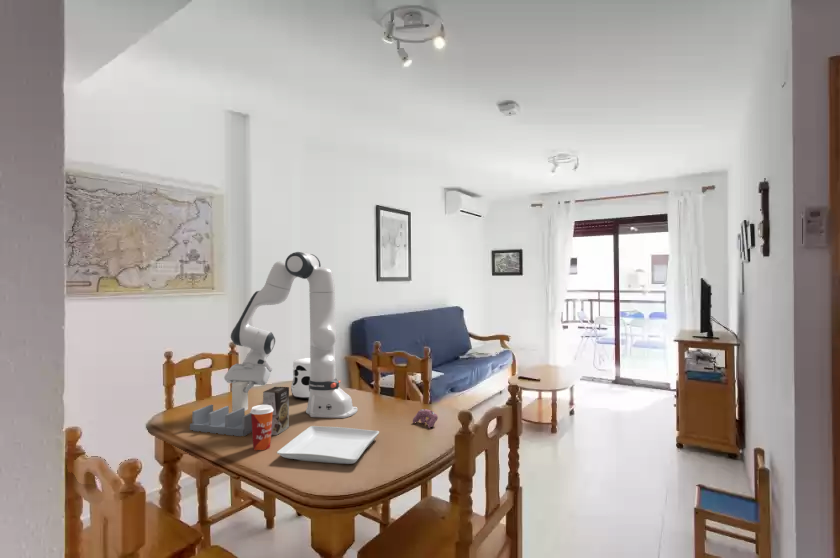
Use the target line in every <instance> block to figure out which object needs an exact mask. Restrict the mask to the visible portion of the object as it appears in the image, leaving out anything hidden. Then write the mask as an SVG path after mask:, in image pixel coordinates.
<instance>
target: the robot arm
mask: <svg viewBox="0 0 840 558" xmlns="http://www.w3.org/2000/svg"><path fill="white" fill-rule="evenodd" d="M321 265H322V264H321V261H320V259H319V258H318V257H317V256H316V255H315V254H312V253H309V252H307V251H306V252H305V251H296V252H292V253H290V254H289V255H288V256H287V257H286V259H285V260H284V261H282V260H280V261H276V262H275V263H273V265H272V267H271V269H270V271H269V273H268V275H267V278H266V281H265V283H264V285H263V287H262V288H261V289H260V290H256V291H255V292H254V293H253V294H252V296H251V298H250V299H249V301H248V302H247V304H246V306H245V308H244V309H243V312H242V314H241V316H240V317H239V320H238V322H237V323H236V324H235V325H234V327H233V329H232V331H231V334H230V339H231V341H232V343H233V344H234V345H235V346H240V347H244V348H248V349H250V351H249V352H248V353H246V356H245V358H244V360H243V362H242V363H235V364H233V365H231V367H230V368H229V369H228V370H227V372H226V374H225V375H224V377H223V378H224V380H225V382H226V383H227V384H231V385H232V384H233V383H236V382H239V381H240V382H248V386H247V387H244V389H243V392H244V393H248V394H249V390H251V389H252V388H254V385H256V386H265V385H266V384H267V383H268V381H269V380H270V377H271V373H272V371H273V368H272V367H271V365H270V363H269V362H268V361H267V358H269V356H270V354H271V352H272V351H273V349H274V347H275V344H276V337H275V336H274V333H273V332H271V331H270V330H268V329H267V330H266V329H263V328H261V327H260V328H259V327H257V326H253V325H250V322H251V320H252V318H253V316H254V314H255V312H256V311H257V309H258V308H259V307H263V306H274V305H275V306H276V305H279V304H281V303H283V302H285V301H287V299H288V297H289V294H290V292H291V288H292V287H293V282H294V280H295V279H296V278H299V279H303V280H307V281H308V286H309V289H308V290H309V291H308V293H309V294H308V295H309V337H310V338H309V339H310V340H309V347H310V348H309V358H310V380H309V392H310V393H309V399H308V401H307V407H306V409H305V410H306V411H305V412H306V414H307V415H309V417H310V418H327V419H328V418H329V419H331V418H332V419H333V418H335V419H346V418H349V417H351V416H354V415H355V414H356V413H357V412H358V407H357V406H353V401H352V400H353V399H352V397H351V395H349V394H348V393H346V392H345V391H344V390H343V389H342V388H341V387H340V383H341V379H340V380H338V379H337V378H336V341H337V321H336V320H337V318H336V291H335V279H334V275H333V271H332V270H331V269H330V268H328V267H325V266H321ZM230 390H231V392H232V388H230Z"/></svg>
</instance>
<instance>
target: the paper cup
mask: <svg viewBox="0 0 840 558" xmlns="http://www.w3.org/2000/svg"><path fill="white" fill-rule="evenodd" d="M273 411H274V409H273V408H272V406H271V405H263V404H258V405H254V406H252V407H251V410H250V411H249V413H251V418H252V432H251V436H252V437H251V438H252V449H253V450H254V451H257V450H261V451H265V450H269V449H270V448H271V441H272V435H271V430H272V414H273Z"/></svg>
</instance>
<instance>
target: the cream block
mask: <svg viewBox="0 0 840 558" xmlns="http://www.w3.org/2000/svg"><path fill="white" fill-rule="evenodd" d="M248 385H249V384H248V382H240V381H239V382H236V383H233V384H232V383H231V389H232V391H231V405H232V406H231V410H232V411H231V412H233V411H236V410H238V409H240V408H245V412H246V411H247V410H249V392H248V393H244V392H243V389H244V387H247V386H248Z"/></svg>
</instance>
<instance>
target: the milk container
mask: <svg viewBox="0 0 840 558" xmlns="http://www.w3.org/2000/svg"><path fill="white" fill-rule="evenodd" d="M292 368H293V369H292V373H293V374H292V376H293V377H292V382H291V385H290V386H291V387H290V392H291V395H292V396H293V397H294V398H296V399H302V400H306V399H307V400H309V393H310V392H309V380H310V357H304V358H298V359H294V361H293V365H292Z"/></svg>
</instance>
